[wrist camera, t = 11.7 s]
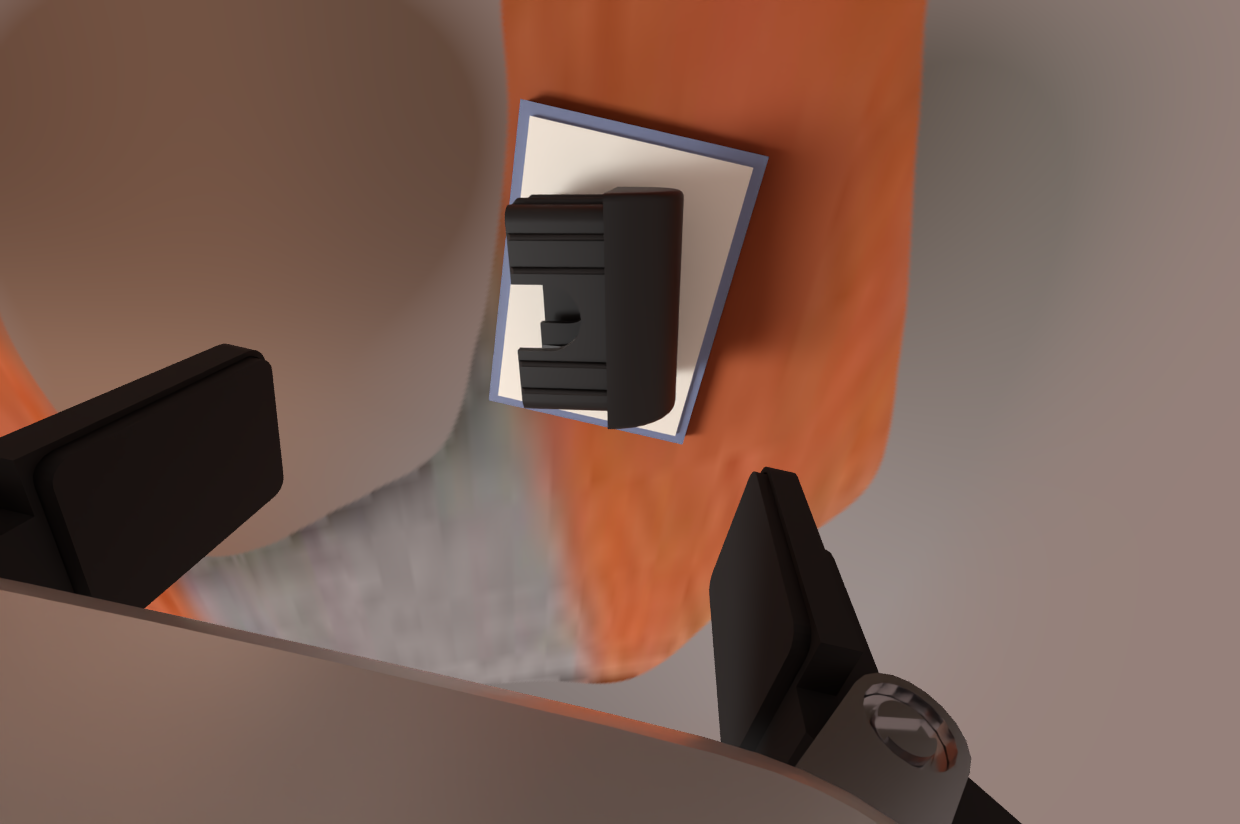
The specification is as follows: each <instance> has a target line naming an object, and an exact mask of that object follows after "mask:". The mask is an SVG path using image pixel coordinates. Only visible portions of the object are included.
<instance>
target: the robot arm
mask: <svg viewBox="0 0 1240 824" xmlns="http://www.w3.org/2000/svg"><path fill="white" fill-rule="evenodd" d="M282 484H283V467H282V458H281V449H280V439H279V430H278V422H277V412H276V403H275V394H274V384H273V375H272V369H271V365H270V364H269V362H267V361H266V360H265V359H264V357H263V355H262V354H261V353H260V352H258V351H256V350H251V349H247V348H243V347H238V346H234V345H230V344H221V345H218V346H215V347H213V348H211V349H208V350H206V351H204V352H201V353H199V354H196V355H194V356H192V357H190V358H187V359H185V360H182V361H180V362H177V363H175V364H173V365H171V366H168V367H166V368H163V369H161V370H159V371H156V372H154V373H151V374H149V375H147V376H144V377H142V378H140V379H137V380H135V381H133V382H130V383H128V384H125V385H123V386H121V387H118V388H116V389H114V390H111V391H109V392H107V393H104V394H102V395H100V396H97V397H95V398H92V399H90V400H88V401H85V402H83V403H81V404H78V405H76V406H73V407H71V408H69V409H66V410H64V411H62V412H59V413H57V414H55V415H52V416H50V417H47V418H45V419H43V420H40V421H38V422H36V423H33V424H31V425H29V426H26V427H24V428H21V429H19V430H17V431H14V432H12V433H10V434H7V435H5V436H3V437H0V824H1021V823H1020V822H1019V821H1018V820H1017V819H1016V818H1015V817H1013V816H1012V815H1011V814H1010V813H1009V812H1008V811H1007V810H1005V809H1004V808H1003V807H1002V806H1001V805H1000V804H999V803H997V802H996V801H995V800H994V799H993V798H992V797H991V796H989V795H988V794H987V793H985V791H984V790H982V789H981V788H980V787H979V786H978V785H977V784H976V783H974V782H973V781H972V780H971V779H970V778H969V777H968V776H969V773H970V766H971V756H970V752H969V749H968V746H967V742H966V740H965V738H964V736H963V734H962V732H961V731H960V729H959V727H958V725H957V724H956V722H955V721H954V720H953V719H952V718H951V716H950V715H949V714H948V713H947V712H946V710H945V709H944V708H943V707H942V706H941V705H940V704H939V703H938V702H937V701H935V700H934V699H933V698H932V697H931V696H930V695H929V694H927V693H926V692H925V691H923V690H922V689H920V688H918V687H917V686H915V685H914V684H912V683H910V682H909V681H906V680H904V679H901V678H899V677H896V676H894V675H890V674H883V673H879V672H878V669H877V667H876V664H875V662H874V659H873V657H872V654H871V652H870V649H869V647H868V644H867V642H866V639H865V637H864V634H863V631H862V629H861V626H860V624H859V621H858V619H857V616H856V613H855V611H854V608H853V606H852V603H851V601H850V598H849V595H848V593H847V590H846V588H845V586H844V583H843V580H842V578H841V575H840V573H839V570H838V568H837V565H836V562H835V560H834V558H833V556H832V554H831V553H830V552H829V551H827V550H825V548H824V546H823V543H822V540H821V538H820V535H819V532H818V530H817V527H816V524H815V522H814V519H813V516H812V514H811V511H810V508H809V506H808V503H807V500H806V498H805V495H804V493H803V490H802V487H801V485H800V482H799V479H798V477H797V475H796V474H795V473H792V472H788V471H783V470H779V469H774V468H770V467H765V468H763V470H762V471H761V473H758V472H752V474H751V475H750V477H749V480H748V482H747V485H746V487H745V490H744V493H743V495H742V498H741V500H740V503H739V506H738V508H737V511H736V513H735V516H734V519H733V521H732V524H731V526H730V529H729V531H728V534H727V537H726V539H725V542H724V544H723V547H722V550H721V552H720V555H719V557H718V560H717V563H716V565H715V568H714V570H713V573H712V576H711V580H710V588H709V596H710V608H711V621H712V634H713V647H714V658H715V672H716V685H717V698H718V711H719V723H720V737H721V742H719V741H715V740H712V739H708V738H705V737H702V736H698V735H694V734H689V733H685V732H681V731H678V730H674V729H669V728H665V727H661V726H657V725H653V724H649V723H645V722H641V721H637V720H633V719H629V718H625V717H621V716H617V715H613V714H609V713H605V712H601V711H596V710H593V709H588V708H584V707H580V706H575V705H570V704H567V703H562V702H558V701H553V700H549V699H545V698H540V697H536V696H532V695H527V694H523V693H519V692H514V691H510V690H505V689H501V688H497V687H492V686H488V685H484V684H479V683H475V682H471V681H466V680H462V679H458V678H453V677H449V676H444V675H440V674H436V673H431V672H427V671H423V670H418V669H414V668H409V667H405V666H400V665H396V664H391V663H387V662H383V661H378V660H374V659H369V658H365V657H360V656H356V655H351V654H347V653H342V652H338V651H333V650H329V649H325V648H320V647H316V646H311V645H307V644H302V643H298V642H293V641H289V640H284V639H280V638H275V637H271V636H266V635H262V634H257V633H253V632H248V631H244V630H239V629H235V628H230V627H226V626H221V625H217V624H212V623H208V622H203V621H199V620H194V619H189V618H185V617H180V616H176V615H171V614H166V613H162V612H157V611H153V610H148V609H144V608H145V607H147V606H148V605H149V604H150V603H151V602H152V601H154V600H155V599H156V598H157V597H158V596H159V595H161V594H162V593H163V592H164V591H165V590H166V589H168V588H169V587H170V586H171V585H172V584H173V583H174V582H176V581H177V580H178V579H179V578H180V577H181V576H183V575H184V574H185V573H186V572H187V571H188V570H190V569H191V568H192V567H193V566H194V565H195V564H197V563H198V562H199V561H200V560H201V559H202V558H204V557H205V556H206V555H207V554H208V553H209V552H210V551H212V550H213V549H214V548H215V547H216V546H217V545H218V544H220V543H221V542H222V541H223V540H224V539H226V538H227V537H228V536H229V535H230V534H231V533H233V532H234V531H235V530H236V529H237V528H238V527H239V526H241V525H242V524H243V523H244V522H245V521H246V520H248V519H249V518H250V517H251V516H252V515H253V514H255V513H256V512H257V511H258V510H259V509H260V508H262V507H263V506H264V505H265V504H266V503H267V502H269V501H270V500H271V499H272V498H273V497H274V496H275V495H276V494H277V493H278V492H279V490H280V489H281V486H282Z"/></svg>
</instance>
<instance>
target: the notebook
mask: <svg viewBox="0 0 1240 824" xmlns="http://www.w3.org/2000/svg"><path fill="white" fill-rule="evenodd" d="M768 158H769V157H768V156H763V155H759V154H755V153H751V152H746V151H742V150H738V149H733V148H729V147H725V146H720V145H716V144H712V143H708V142H703V141H699V140H695V139H690V138H686V137H682V136H677V135H673V134H669V133H665V132H660V131H656V130H652V129H647V128H643V127H639V126H634V125H630V124H626V123H622V122H617V121H613V120H609V119H604V118H600V117H596V116H591V115H587V114H583V113H579V112H574V111H570V110H566V109H561V108H557V107H553V106H548V105H544V104H540V103H535V102H531V101H527V100H523V99H520V109H519V118H518V128H517V137H516V147H515V156H514V166H513V175H512V185H511V195H510V204H513V202H514V201H515V200H516V199H517V198H528V197H529V196H530V195H531V194H604V193H605V192H607V191H610V190H612V189H614V188H616V187H663V188H674V189H679V190H680V191H682V192H683V194H684V208H683V232H682V256H681V281H680V305H679V329H678V353H677V377H676V400H675V404H674V407H673V409H672V410H671V411H670V413H669V414H667V415H666V416H665V417H663V418H662V419H660V420H658V421H656V422H653V423H650V424H647V425H644V426H639V427H634V428H626V429H617V430H622V431H626V432H630V433H635V434H639V435H644V436H648V437H652V438H657V439H661V440H665V441H670V442H674V443H679V444H683V440H684V437H685V434H686V430H687V427H688V424H689V420H690V417H691V414H692V410H693V407H694V404H695V401H696V397H697V394H698V391H699V387H700V384H701V381H702V377H703V374H704V371H705V367H706V364H707V361H708V357H709V354H710V351H711V347H712V344H713V341H714V337H715V334H716V331H717V328H718V324H719V321H720V318H721V314H722V311H723V308H724V304H725V301H726V298H727V294H728V291H729V288H730V284H731V281H732V278H733V274H734V271H735V268H736V264H737V261H738V258H739V255H740V251H741V248H742V245H743V241H744V238H745V235H746V231H747V228H748V225H749V221H750V218H751V215H752V211H753V208H754V205H755V201H756V198H757V195H758V191H759V188H760V185H761V182H762V178H763V175H764V172H765V168H766V165H767V162H768ZM510 204H509V205H510ZM542 321H545V312H544V298H543V285H511V279H510V268H509V258H508V248H507V237H506V242H505V252H504V261H503V271H502V280H501V290H500V299H499V309H498V318H497V328H496V337H495V347H494V356H493V366H492V375H491V385H490V394H489V400H490V401H495V402H499V403H504V404H508V405H512V406H517V407H521V408H524V406H523V402H522V392H521V382H520V372H519V361H518V349H519V348H520V347H523V348H542V340H541V327H540V323H541V322H542ZM525 409H530V410H534V411H539V412H543V413H547V414H552V415H556V416H560V417H565V418H569V419H574V420H578V421H582V422H587V423H591V424H595V425H600V426H604V427H608V423H607V411H591V410H561V409H531V408H525Z"/></svg>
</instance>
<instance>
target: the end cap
mask: <svg viewBox="0 0 1240 824" xmlns="http://www.w3.org/2000/svg"><path fill="white" fill-rule="evenodd" d="M683 208H684V194H683V192H682V191H680V190H679V189H674V188H663V187H616V188H614V189H612V190H610V191H607V192H605V193H604V194H531V195H530V196H529V197H528V198H517V199H516V200H515V201H514V202H513V204H510V205H508V206H507V207H506V211H505V227H506V237H507V248H508V258H509V268H510V279H511V285H543V298H544V312H545V321H542V322H541V323H540V327H541V340H542V348H523V347H520V348H519V349H518V361H519V372H520V382H521V392H522V402H523V406H524V408H531V409H561V410H591V411H607V423H608V429H626V428H634V427H639V426H644V425H647V424H650V423H653V422H656V421H658V420H660V419H662V418H663V417H665V416H666V415H667V414H669V413H670V411H671V410H672V409H673V407H674V404H675V400H676V377H677V353H678V329H679V305H680V281H681V256H682V232H683Z"/></svg>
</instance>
